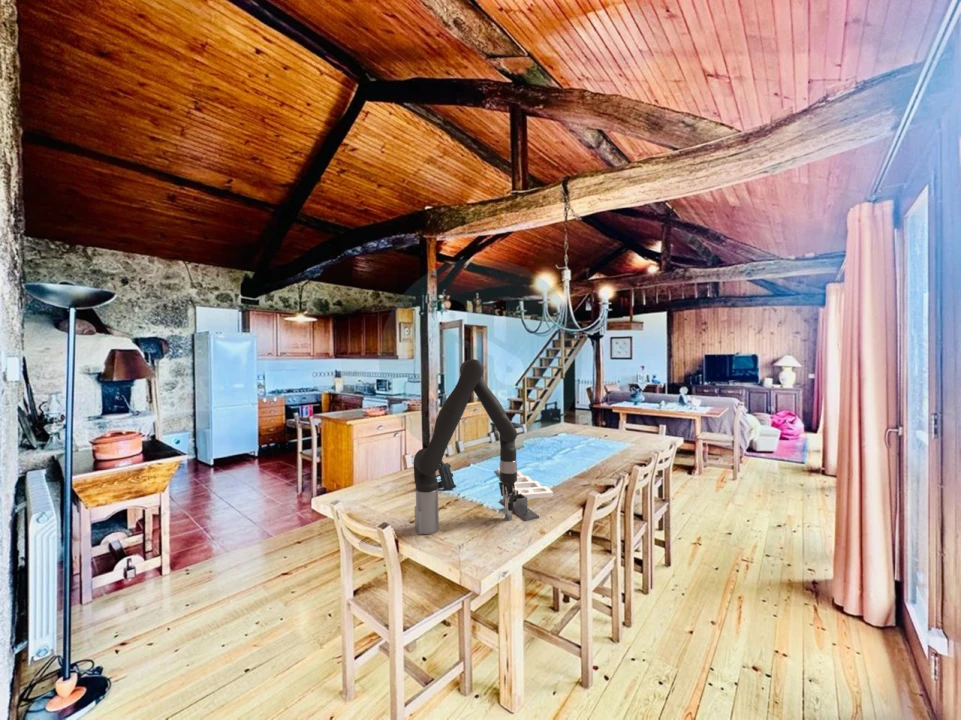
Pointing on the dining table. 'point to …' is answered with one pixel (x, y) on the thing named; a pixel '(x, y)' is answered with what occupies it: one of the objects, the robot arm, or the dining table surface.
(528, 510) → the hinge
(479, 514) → the dining table surface
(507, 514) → the pin
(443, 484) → the gun
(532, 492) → the holder
